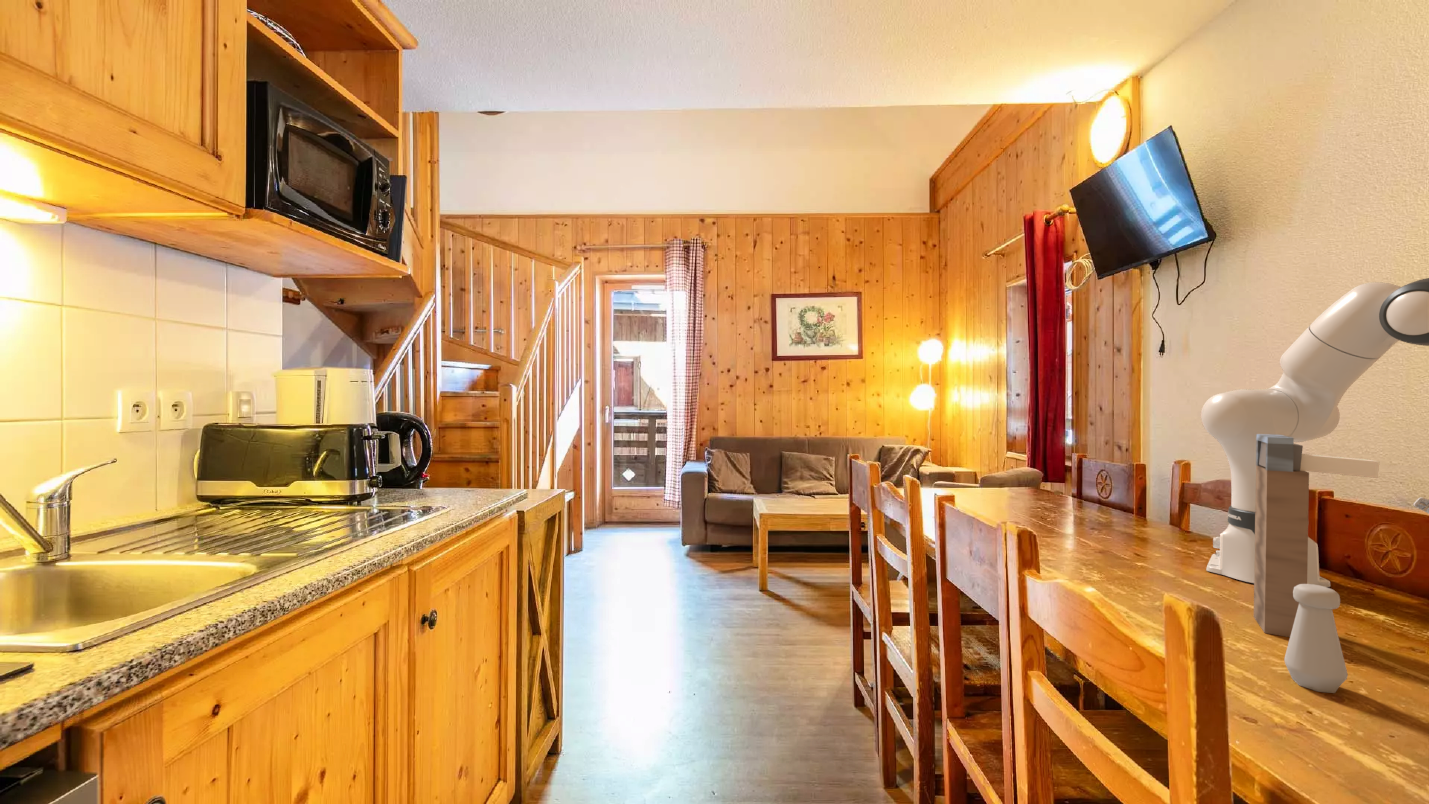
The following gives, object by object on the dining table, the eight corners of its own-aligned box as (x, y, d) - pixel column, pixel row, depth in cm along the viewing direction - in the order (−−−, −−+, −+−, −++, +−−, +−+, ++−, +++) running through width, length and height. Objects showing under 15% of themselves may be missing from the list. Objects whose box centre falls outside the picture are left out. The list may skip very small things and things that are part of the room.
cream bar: (1258, 464, 99) (1261, 440, 99) (1367, 475, 92) (1370, 449, 92) (1265, 467, 95) (1268, 442, 95) (1380, 479, 88) (1383, 452, 88)
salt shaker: (1360, 698, 74) (1362, 595, 74) (1306, 694, 75) (1308, 592, 75) (1322, 676, 80) (1324, 581, 80) (1273, 672, 81) (1274, 578, 81)
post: (1253, 616, 101) (1256, 434, 100) (1292, 622, 98) (1295, 435, 98) (1264, 632, 94) (1267, 437, 94) (1306, 639, 92) (1309, 438, 91)
